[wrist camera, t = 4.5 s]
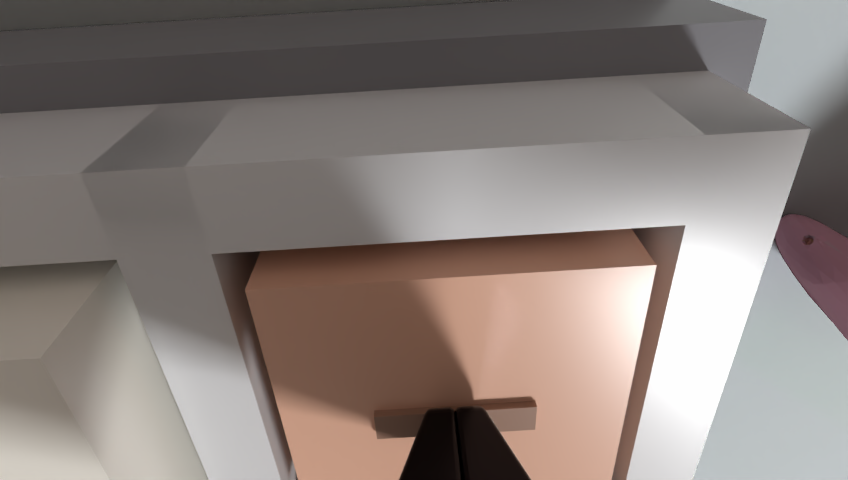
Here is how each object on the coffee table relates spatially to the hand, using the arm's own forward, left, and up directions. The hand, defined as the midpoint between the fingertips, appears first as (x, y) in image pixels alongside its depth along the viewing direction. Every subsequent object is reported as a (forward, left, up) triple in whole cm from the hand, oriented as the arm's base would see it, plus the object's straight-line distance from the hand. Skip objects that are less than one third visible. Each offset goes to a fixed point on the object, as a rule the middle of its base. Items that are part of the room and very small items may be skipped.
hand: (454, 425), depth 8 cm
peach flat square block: (0, 0, -2) cm, 2 cm away
